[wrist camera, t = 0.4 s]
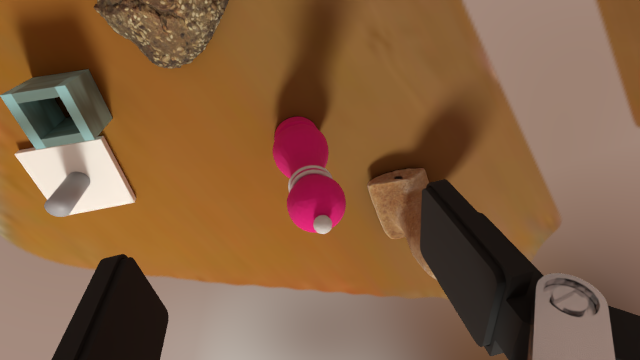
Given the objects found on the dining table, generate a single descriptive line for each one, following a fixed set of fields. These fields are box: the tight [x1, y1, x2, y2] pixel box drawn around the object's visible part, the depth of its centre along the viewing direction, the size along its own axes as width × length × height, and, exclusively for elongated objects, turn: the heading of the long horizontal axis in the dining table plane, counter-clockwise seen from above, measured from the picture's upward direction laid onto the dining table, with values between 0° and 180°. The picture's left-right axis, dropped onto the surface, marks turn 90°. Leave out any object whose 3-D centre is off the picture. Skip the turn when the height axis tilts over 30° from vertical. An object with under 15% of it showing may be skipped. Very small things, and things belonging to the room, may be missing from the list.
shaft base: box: [15, 136, 136, 217], centre depth 41 cm, size 10×10×7 cm
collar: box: [0, 69, 112, 150], centre depth 37 cm, size 6×6×6 cm
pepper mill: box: [273, 117, 346, 234], centre depth 39 cm, size 7×7×20 cm
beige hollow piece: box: [368, 168, 437, 280], centre depth 51 cm, size 15×12×15 cm
